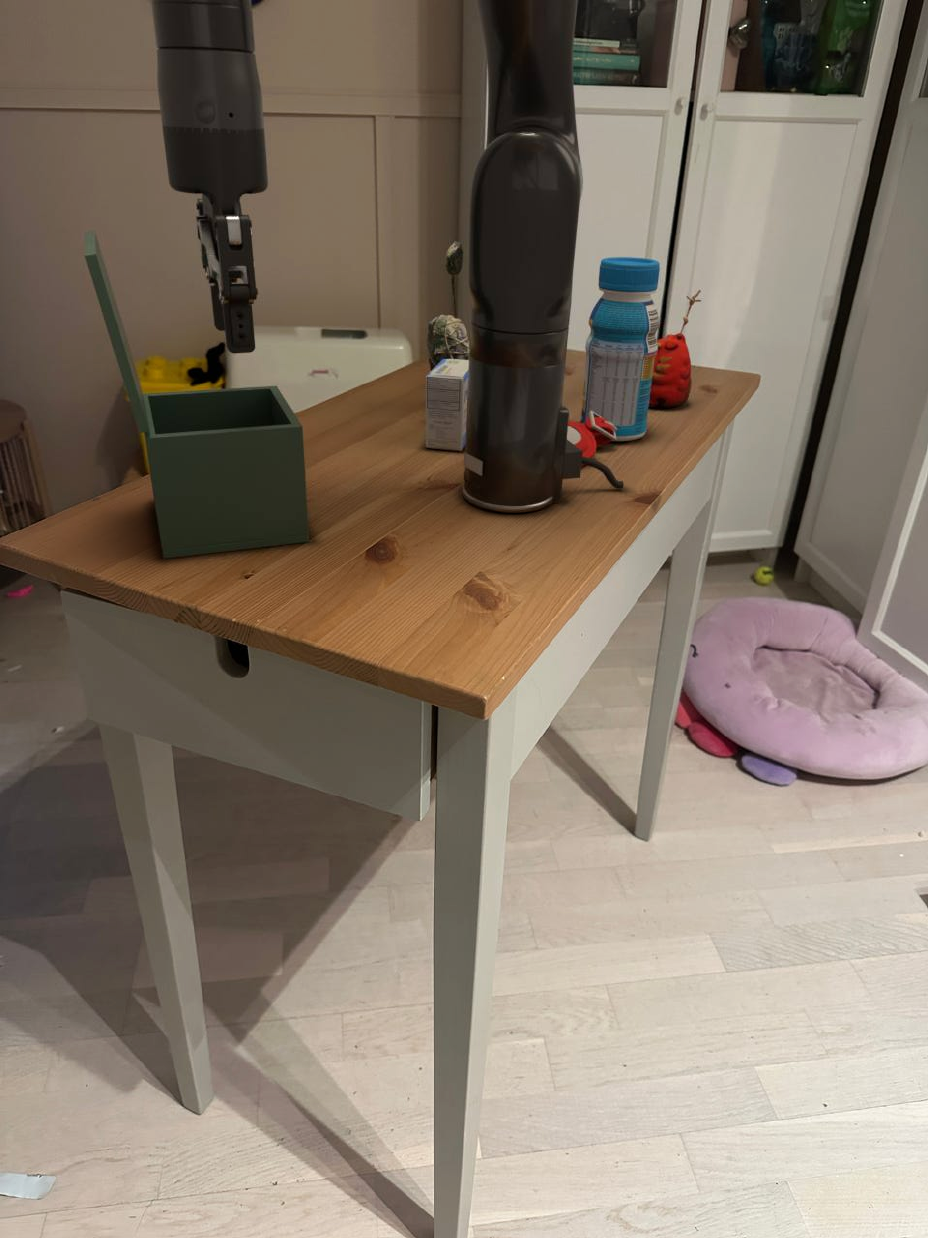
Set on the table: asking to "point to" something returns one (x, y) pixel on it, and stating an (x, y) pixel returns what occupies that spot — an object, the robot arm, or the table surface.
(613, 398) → the beverage bottle
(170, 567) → the table surface
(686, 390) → the red clay folk toy
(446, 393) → the medicine box
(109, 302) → the lid
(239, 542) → the chest
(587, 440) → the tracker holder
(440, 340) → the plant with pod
